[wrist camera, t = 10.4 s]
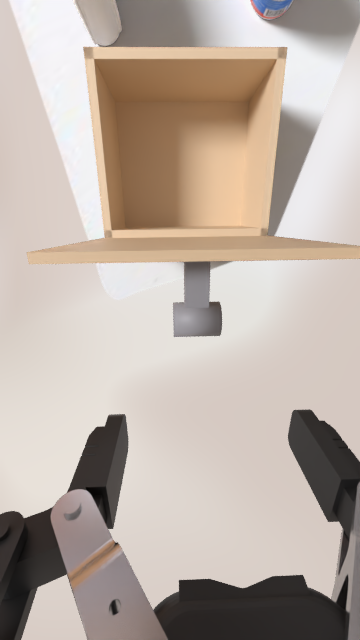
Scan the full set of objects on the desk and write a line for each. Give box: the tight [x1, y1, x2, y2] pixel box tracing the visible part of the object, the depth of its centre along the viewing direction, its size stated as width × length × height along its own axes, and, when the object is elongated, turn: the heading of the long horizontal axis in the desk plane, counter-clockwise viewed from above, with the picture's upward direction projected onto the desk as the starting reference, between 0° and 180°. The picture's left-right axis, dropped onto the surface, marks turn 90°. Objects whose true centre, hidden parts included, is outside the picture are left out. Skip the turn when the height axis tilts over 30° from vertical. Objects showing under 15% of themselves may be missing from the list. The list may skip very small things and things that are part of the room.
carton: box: [83, 47, 287, 238], centre depth 31 cm, size 16×18×10 cm
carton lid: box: [27, 236, 360, 337], centre depth 22 cm, size 16×18×6 cm
